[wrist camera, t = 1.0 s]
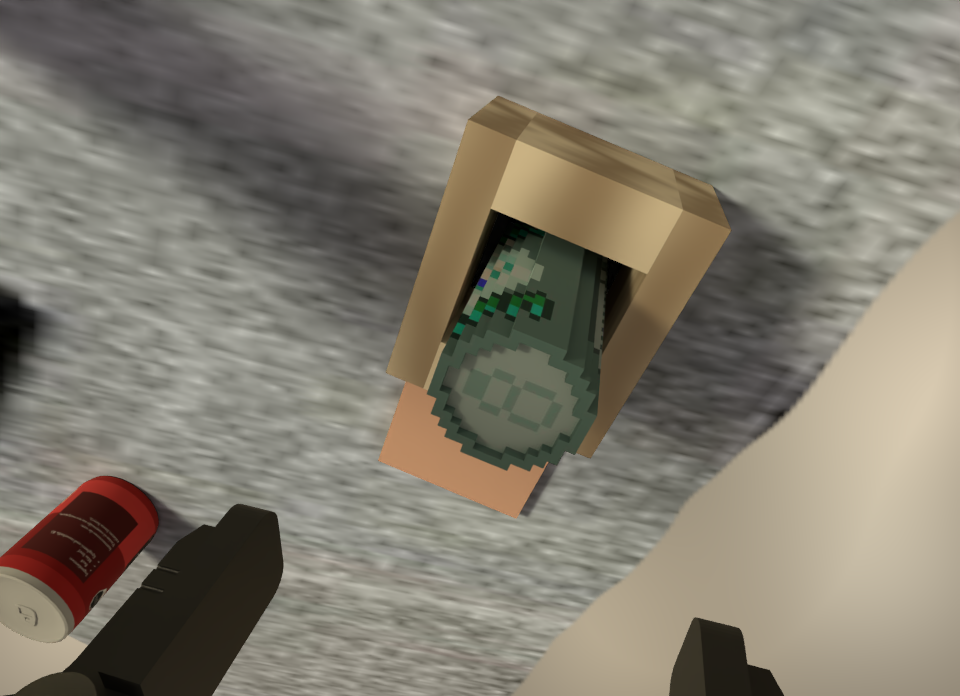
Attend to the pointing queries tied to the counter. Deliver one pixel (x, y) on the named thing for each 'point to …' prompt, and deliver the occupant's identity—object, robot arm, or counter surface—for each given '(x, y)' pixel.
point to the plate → (450, 458)
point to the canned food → (73, 558)
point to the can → (525, 353)
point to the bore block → (576, 218)
